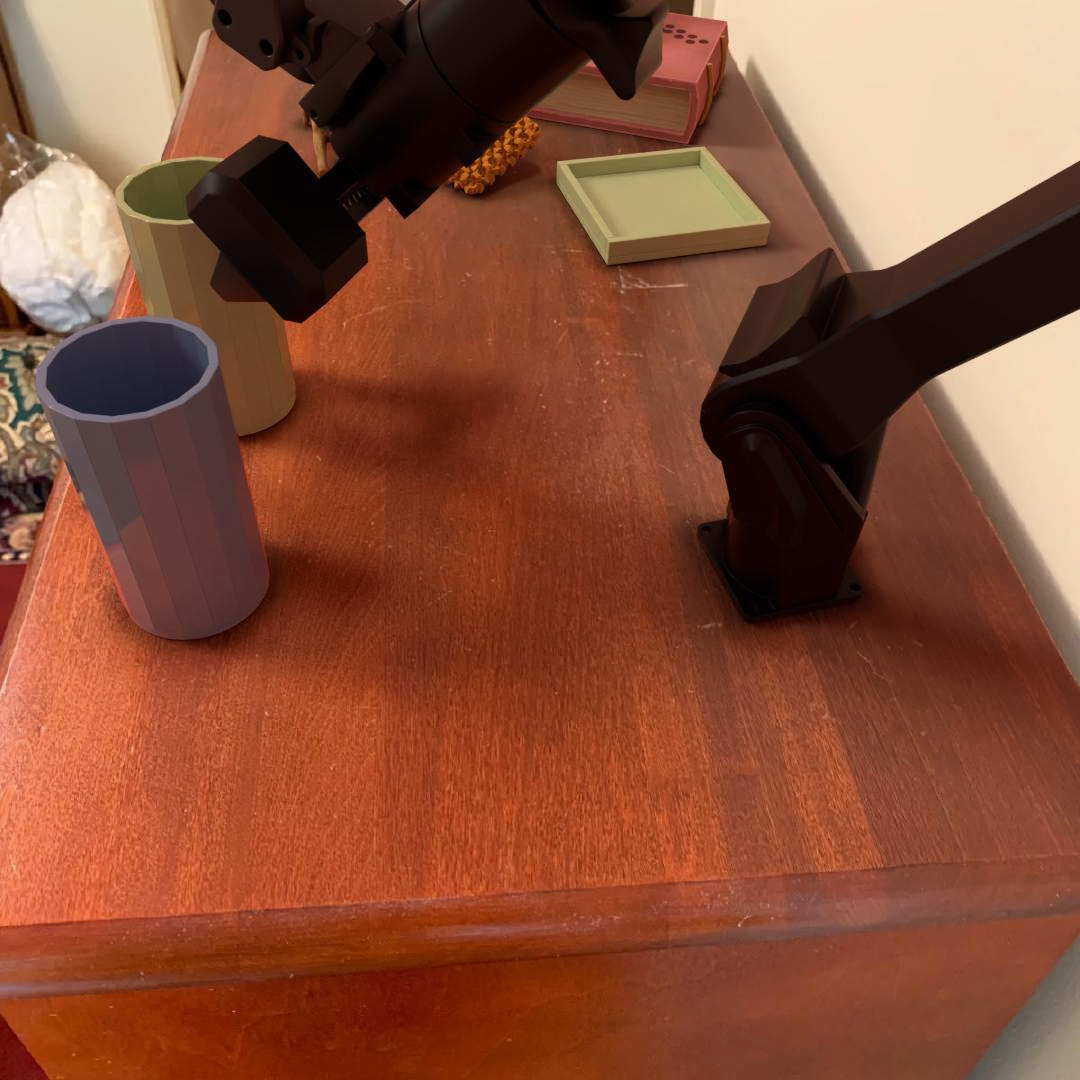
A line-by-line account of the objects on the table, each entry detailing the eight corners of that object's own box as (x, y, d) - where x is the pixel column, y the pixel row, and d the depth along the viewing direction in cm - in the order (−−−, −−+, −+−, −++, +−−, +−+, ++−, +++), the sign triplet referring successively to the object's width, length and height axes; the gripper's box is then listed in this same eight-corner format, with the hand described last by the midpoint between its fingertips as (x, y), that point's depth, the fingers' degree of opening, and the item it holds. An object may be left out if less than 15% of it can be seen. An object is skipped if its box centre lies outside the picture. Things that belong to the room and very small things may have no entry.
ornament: (533, 139, 72) (530, 16, 79) (391, 164, 73) (402, 40, 81) (550, 214, 77) (545, 92, 85) (418, 235, 79) (425, 113, 87)
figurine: (359, 196, 80) (342, 78, 87) (354, 148, 76) (337, 28, 83) (311, 200, 79) (299, 80, 86) (304, 151, 75) (291, 30, 83)
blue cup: (277, 623, 47) (224, 405, 38) (125, 653, 46) (31, 434, 36) (262, 523, 52) (212, 306, 42) (123, 547, 50) (39, 328, 41)
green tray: (766, 245, 73) (771, 222, 71) (607, 265, 70) (609, 242, 69) (701, 167, 81) (704, 146, 79) (555, 183, 78) (557, 161, 77)
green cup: (303, 426, 57) (266, 215, 48) (178, 445, 56) (115, 231, 46) (289, 356, 62) (253, 150, 52) (173, 372, 60) (114, 163, 51)
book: (698, 145, 83) (707, 84, 80) (523, 115, 86) (524, 55, 83) (727, 80, 93) (737, 22, 89) (568, 55, 96) (572, -2, 92)
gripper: (446, -190, 42) (261, 38, 53) (171, -71, 30) (3, 193, 41) (606, 42, 46) (404, 211, 57) (420, 229, 34) (207, 400, 45)
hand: (274, 245), depth 50 cm, fingers open, 9 cm apart
